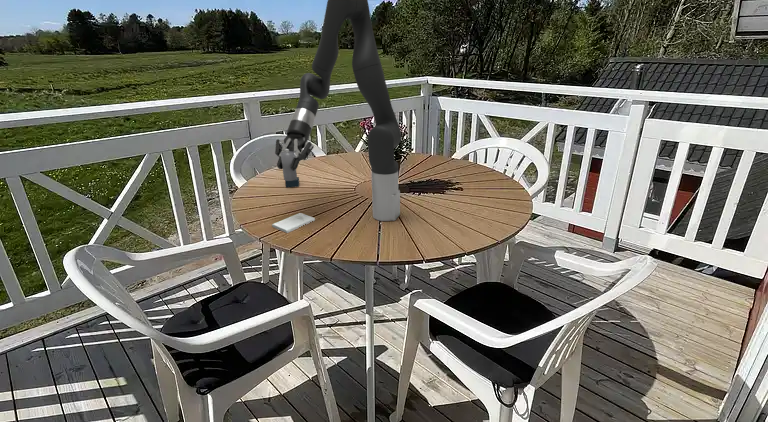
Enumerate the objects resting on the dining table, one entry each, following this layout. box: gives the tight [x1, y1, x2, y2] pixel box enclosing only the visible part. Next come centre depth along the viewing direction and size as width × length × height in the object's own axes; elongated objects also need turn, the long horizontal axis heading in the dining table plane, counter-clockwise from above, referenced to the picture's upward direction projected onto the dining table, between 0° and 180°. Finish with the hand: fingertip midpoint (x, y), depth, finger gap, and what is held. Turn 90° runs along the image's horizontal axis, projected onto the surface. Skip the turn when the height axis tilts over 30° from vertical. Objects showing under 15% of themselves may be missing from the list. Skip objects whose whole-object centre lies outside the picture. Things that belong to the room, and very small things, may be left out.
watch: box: [284, 176, 300, 189], centre depth 171 cm, size 6×8×11 cm
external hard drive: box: [271, 212, 316, 234], centre depth 137 cm, size 2×8×12 cm
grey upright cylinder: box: [281, 149, 298, 182], centre depth 131 cm, size 4×4×10 cm
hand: (286, 168), depth 130 cm, fingers closed on grey upright cylinder, 4 cm apart
